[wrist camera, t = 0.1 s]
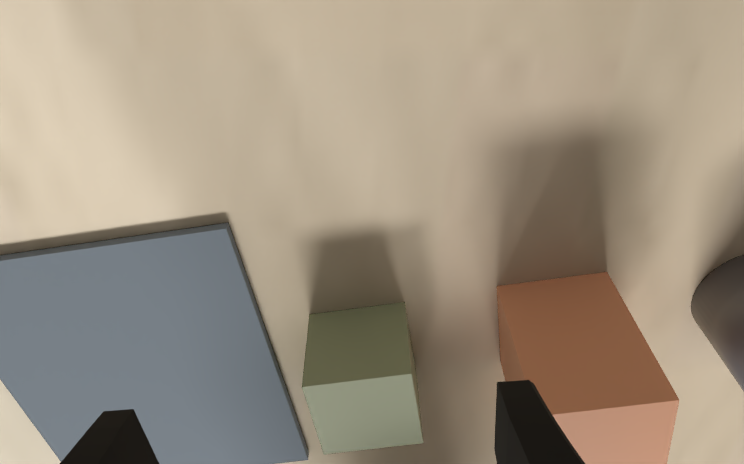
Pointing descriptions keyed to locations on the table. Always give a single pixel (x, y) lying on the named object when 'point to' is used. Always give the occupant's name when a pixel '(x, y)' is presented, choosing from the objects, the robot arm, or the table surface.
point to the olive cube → (362, 379)
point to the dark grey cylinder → (723, 313)
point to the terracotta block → (588, 367)
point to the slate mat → (147, 347)
